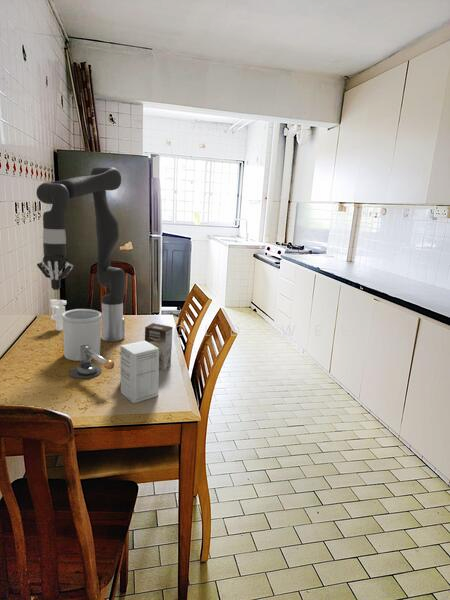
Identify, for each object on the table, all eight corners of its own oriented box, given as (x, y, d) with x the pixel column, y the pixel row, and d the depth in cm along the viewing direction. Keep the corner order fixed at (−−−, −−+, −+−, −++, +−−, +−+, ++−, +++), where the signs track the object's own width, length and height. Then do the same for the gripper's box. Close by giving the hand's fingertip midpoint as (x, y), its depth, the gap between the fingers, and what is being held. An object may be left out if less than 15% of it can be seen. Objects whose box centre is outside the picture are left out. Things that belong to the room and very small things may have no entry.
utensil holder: (109, 353, 162) (109, 312, 158) (83, 364, 149) (82, 320, 145) (82, 346, 168) (81, 306, 164) (54, 356, 155) (53, 314, 151)
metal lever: (73, 370, 141) (73, 346, 139) (91, 366, 146) (91, 342, 144) (102, 390, 128) (101, 364, 125) (120, 384, 133) (121, 359, 130)
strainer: (49, 328, 188) (48, 298, 185) (65, 326, 192) (64, 297, 189) (53, 332, 183) (52, 301, 179) (69, 330, 187) (68, 300, 183)
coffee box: (143, 366, 151) (143, 326, 147) (151, 360, 157) (152, 322, 153) (164, 370, 148) (165, 330, 145) (171, 365, 154) (173, 326, 151)
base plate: (77, 365, 148) (77, 364, 148) (105, 367, 148) (105, 366, 147) (64, 377, 137) (64, 376, 137) (95, 379, 137) (95, 378, 137)
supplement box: (145, 385, 135) (146, 339, 131) (159, 396, 128) (160, 347, 125) (119, 392, 129) (119, 344, 125) (132, 404, 122) (133, 353, 118)
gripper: (30, 241, 134) (33, 290, 138) (68, 243, 134) (69, 292, 138) (41, 239, 142) (43, 286, 146) (77, 242, 141) (78, 288, 145)
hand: (56, 289), depth 142 cm, fingers closed
